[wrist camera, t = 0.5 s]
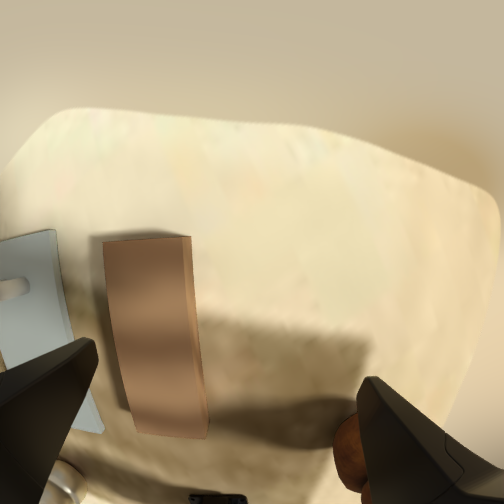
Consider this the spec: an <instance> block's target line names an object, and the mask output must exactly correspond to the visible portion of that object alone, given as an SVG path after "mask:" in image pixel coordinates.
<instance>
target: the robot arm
mask: <svg viewBox="0 0 504 504" xmlns="http://www.w3.org/2000/svg"><path fill="white" fill-rule="evenodd" d="M98 361H99V359H98V354H97V349H96V345H95V342H94V340H92V339H89V338H86V337H82V338H80V339H77V340H75V341H73V342H70V343H68V344H66V345H64V346H61V347H59V348H57V349H54V350H52V351H50V352H48V353H45V354H43V355H41V356H38V357H36V358H34V359H31V360H29V361H27V362H25V363H22V364H20V365H18V366H15V367H13V368H11V369H8V370H6V371H5V372H1V373H0V504H39V502H40V500H41V497H42V494H43V492H44V489H45V486H46V484H47V481H48V479H49V476H50V474H51V471H52V469H53V466H54V464H55V462H56V459H57V457H58V455H59V452H60V450H61V448H62V446H63V443H64V441H65V439H66V437H67V435H68V433H69V430H70V428H71V426H72V424H73V422H74V420H75V418H76V416H77V414H78V412H79V410H80V408H81V406H82V404H83V401H84V399H85V397H86V394H87V392H88V389H89V386H90V384H91V381H92V378H93V376H94V373H95V371H96V368H97V366H98ZM356 400H357V410H358V421H359V432H360V439H361V445H362V450H363V455H364V460H365V465H366V470H367V476H368V482H369V488H370V494H371V500H372V504H504V470H503V469H500V468H497V467H495V466H494V465H492V464H491V463H489V462H487V461H486V460H484V459H483V458H481V457H479V456H478V455H476V454H474V453H473V452H471V451H470V450H469V449H467V448H466V447H464V446H463V445H462V444H460V443H459V442H458V441H456V440H455V439H453V438H452V437H451V436H450V435H449V434H447V433H445V431H444V430H442V429H441V428H440V427H439V426H437V425H436V424H435V423H434V422H432V421H431V420H430V419H429V418H428V417H426V416H425V415H424V414H423V413H421V412H420V411H419V410H418V409H417V408H415V407H414V406H413V405H412V404H410V403H409V402H408V401H407V400H406V399H404V398H403V397H402V396H401V395H400V394H398V393H397V392H396V391H395V390H393V389H392V388H391V387H390V386H389V385H387V384H386V383H385V382H384V381H383V380H381V379H380V378H379V377H377V376H367V377H366V378H365V379H364V380H363V383H362V385H361V387H360V389H359V391H358V393H357V397H356ZM188 499H189V501H190V503H191V504H248V500H247V497H246V496H205V495H189V498H188Z"/></svg>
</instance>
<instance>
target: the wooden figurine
mask: <svg viewBox="0 0 504 504" xmlns="http://www.w3.org/2000/svg"><path fill="white" fill-rule="evenodd" d="M333 454H334V460H335V465H336V469H337V472H338V475H339V478H340V479H341V481H342V483H343V484H344V485H345V487H346V488H347V489H349V490H351V491H354V492H357V493H362V494H361V502H362V504H372V500H371V494H370V488H369V482H368V476H367V470H366V465H365V460H364V455H363V450H362V445H361V439H360V432H359V421H358V413H356V414H354V415H353V416H351V417H350V418H348V419H347V420H346V421H344V422H343V423H342V424H341V425H340V426H339V428H338V430H337V432H336V434H335V437H334V441H333Z"/></svg>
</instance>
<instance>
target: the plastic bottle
mask: <svg viewBox="0 0 504 504" xmlns="http://www.w3.org/2000/svg"><path fill="white" fill-rule="evenodd" d="M87 490H88V488H87V483H86V480H85V479H84V477H83V476H82V475H81V474H80V473H79V472H78V471H77V470H76V469H75V468H73V467H72V466H71V465H69V464H67V463H66V462H64V461H61V460H56V462H55V464H54V466H53V469H52V471H51V474H50V476H49V479H48V481H47V484H46V486H45V489H44V492H43V494H42V497H41V500H40V502H39V504H80V503H81V502H82V501H83V500H84V499H85V497H86V494H87Z"/></svg>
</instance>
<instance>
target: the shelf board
mask: <svg viewBox="0 0 504 504" xmlns="http://www.w3.org/2000/svg"><path fill="white" fill-rule="evenodd" d="M103 256H104V268H105V279H106V288H107V296H108V304H109V311H110V318H111V324H112V330H113V336H114V342H115V347H116V352H117V357H118V362H119V367H120V371H121V375H122V380H123V384H124V388H125V392H126V396H127V399H128V403H129V407H130V410H131V414H132V417H133V421H134V424H135V427H136V430H137V432H138V433H145V434H152V435H159V436H168V437H178V438H190V439H206V435H207V431H208V427H209V423H210V420H209V413H208V406H207V399H206V392H205V385H204V377H203V369H202V361H201V352H200V343H199V334H198V324H197V313H196V302H195V289H194V276H193V261H192V244H191V236H190V237H173V238H156V239H140V240H125V241H111V242H103Z"/></svg>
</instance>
